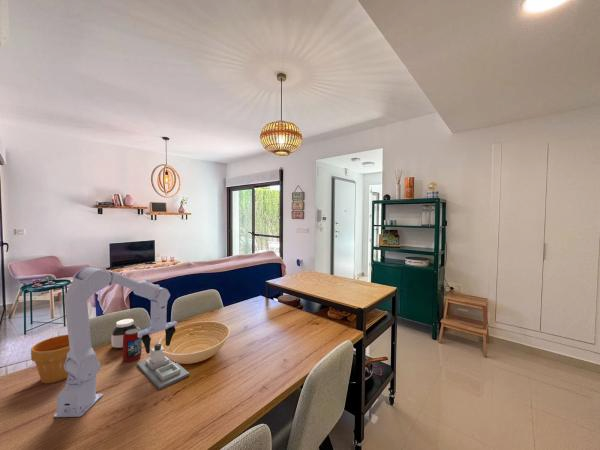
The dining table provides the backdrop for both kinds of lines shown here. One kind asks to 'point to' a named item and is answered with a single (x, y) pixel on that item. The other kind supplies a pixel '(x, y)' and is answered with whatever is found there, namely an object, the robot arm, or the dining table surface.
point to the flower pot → (51, 358)
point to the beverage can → (131, 345)
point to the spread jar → (121, 332)
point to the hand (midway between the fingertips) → (157, 348)
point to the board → (163, 372)
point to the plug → (157, 354)
